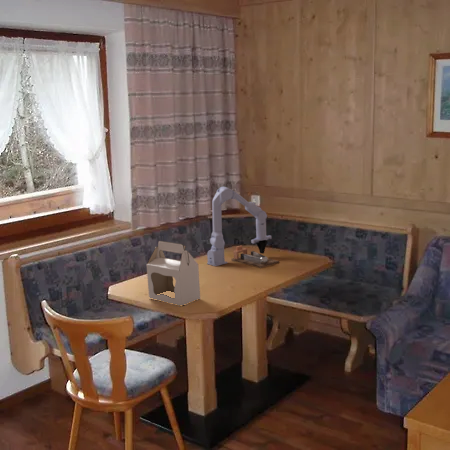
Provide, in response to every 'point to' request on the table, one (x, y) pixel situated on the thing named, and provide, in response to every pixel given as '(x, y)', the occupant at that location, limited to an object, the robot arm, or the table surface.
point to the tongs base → (254, 259)
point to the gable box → (173, 275)
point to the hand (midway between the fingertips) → (262, 253)
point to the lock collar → (238, 250)
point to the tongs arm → (255, 254)
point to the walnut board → (269, 262)
